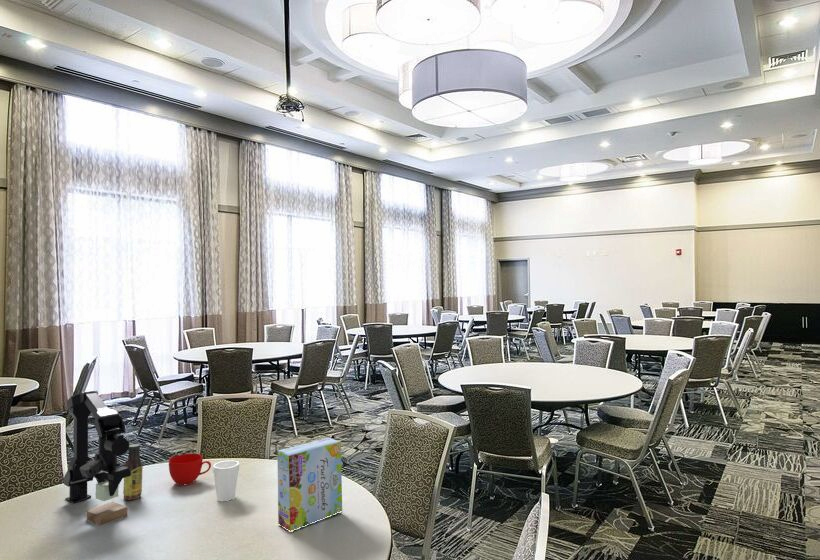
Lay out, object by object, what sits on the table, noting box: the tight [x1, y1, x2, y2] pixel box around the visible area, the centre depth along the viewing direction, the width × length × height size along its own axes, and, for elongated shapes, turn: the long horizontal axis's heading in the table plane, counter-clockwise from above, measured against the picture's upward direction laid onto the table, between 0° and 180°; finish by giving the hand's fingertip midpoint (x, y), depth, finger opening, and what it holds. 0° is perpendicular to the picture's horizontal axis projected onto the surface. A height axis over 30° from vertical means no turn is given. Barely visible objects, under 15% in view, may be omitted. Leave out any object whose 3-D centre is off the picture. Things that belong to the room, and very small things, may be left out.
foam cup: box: [212, 459, 240, 503], centre depth 196 cm, size 10×9×13 cm
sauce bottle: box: [122, 443, 144, 501], centre depth 197 cm, size 7×6×20 cm
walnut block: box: [86, 501, 128, 527], centre depth 179 cm, size 9×9×4 cm
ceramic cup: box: [168, 453, 212, 486], centre depth 212 cm, size 13×17×10 cm
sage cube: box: [95, 481, 119, 502], centre depth 180 cm, size 5×5×5 cm
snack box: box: [277, 437, 343, 531], centre depth 178 cm, size 22×9×26 cm, turn 134°
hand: (107, 494), depth 180 cm, fingers closed on sage cube, 5 cm apart
